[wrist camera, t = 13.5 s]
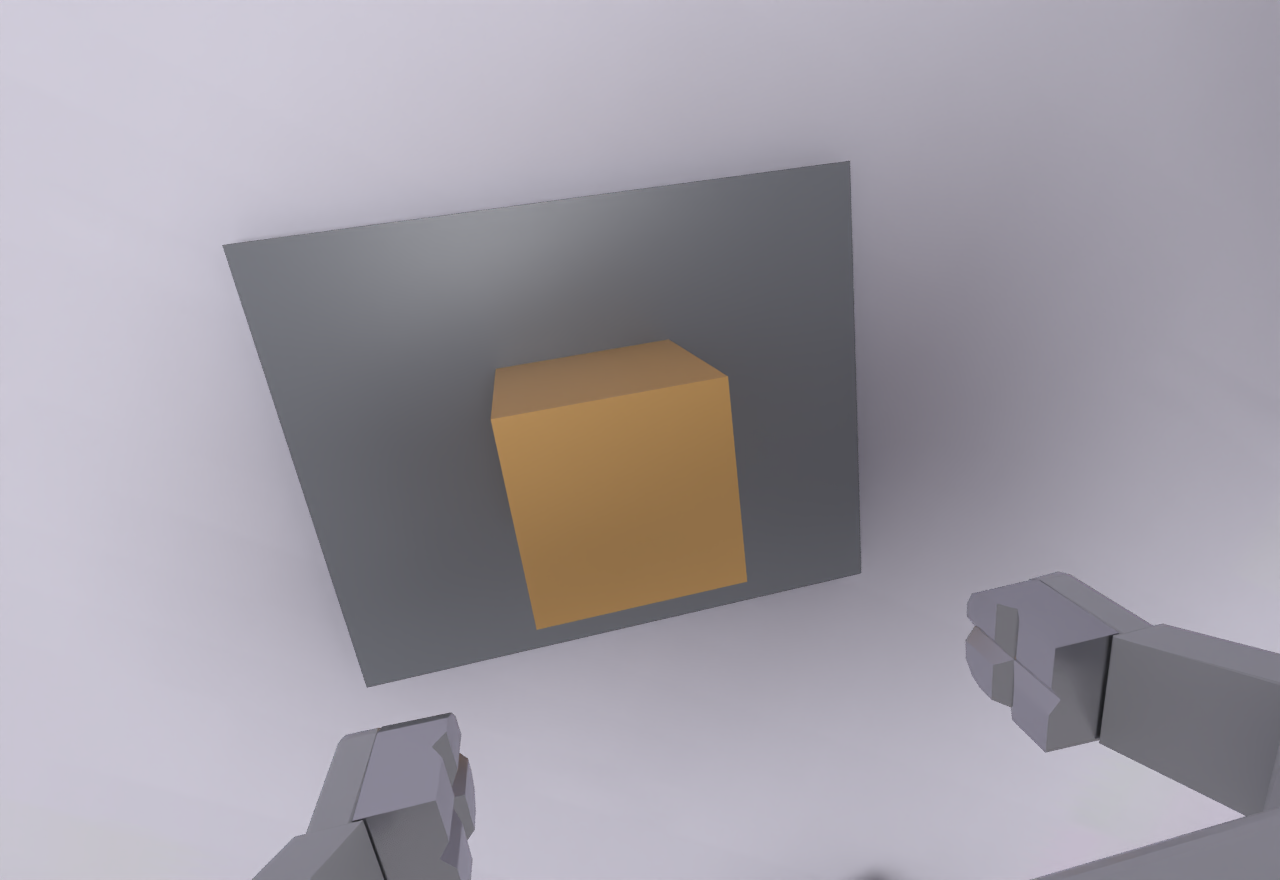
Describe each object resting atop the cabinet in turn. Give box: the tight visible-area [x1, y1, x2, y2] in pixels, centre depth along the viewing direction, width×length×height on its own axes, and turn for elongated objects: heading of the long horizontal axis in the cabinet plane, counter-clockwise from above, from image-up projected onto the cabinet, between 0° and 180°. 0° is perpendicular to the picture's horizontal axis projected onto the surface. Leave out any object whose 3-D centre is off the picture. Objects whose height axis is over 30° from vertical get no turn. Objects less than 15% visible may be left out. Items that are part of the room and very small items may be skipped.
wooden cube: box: [491, 339, 747, 630], centre depth 20 cm, size 6×6×6 cm
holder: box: [223, 161, 861, 687], centre depth 22 cm, size 20×16×4 cm
